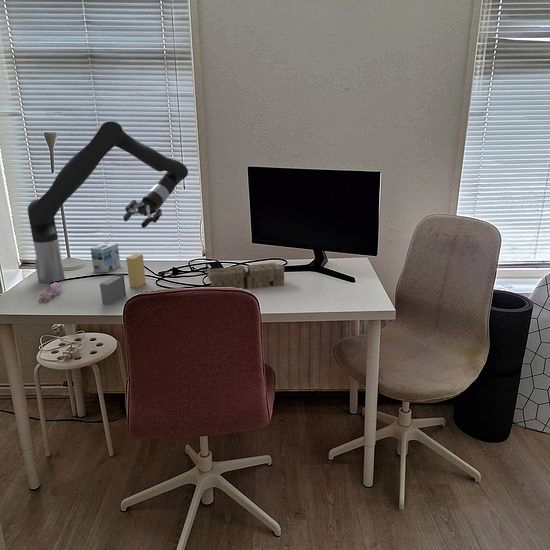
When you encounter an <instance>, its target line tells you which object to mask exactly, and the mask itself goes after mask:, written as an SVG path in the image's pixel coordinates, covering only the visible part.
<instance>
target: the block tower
mask: <svg viewBox="0 0 550 550" xmlns="http://www.w3.org/2000/svg"><path fill="white" fill-rule="evenodd" d="M246 266H247V268H246V267H245V266H244V265H236V266H226V267H220V268H207V269H206V271H207V272H206V273H207V277H208V281H209V282H210V283H211V286H226V287H236V288H242V289H244V290H245V288H246V289H247V290H254V289H264V288H270V284H271V287H282V286H285V267H284V266H283V265H282V264H280V263H279V264H278V263H276V262H267V263H258V264H248V265H246Z"/></svg>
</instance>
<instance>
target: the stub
mask: <svg viewBox="0 0 550 550" xmlns="http://www.w3.org/2000/svg"><path fill="white" fill-rule="evenodd" d="M144 263H145V262H144V255H143V254H142V253H133V254H132V255H129V256H127V257H126V267H127V276H128V282H129V288H135V289H138V288H140V287H141V286H143V285H145V284H146V283H147V281H146V274H145V265H144Z"/></svg>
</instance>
